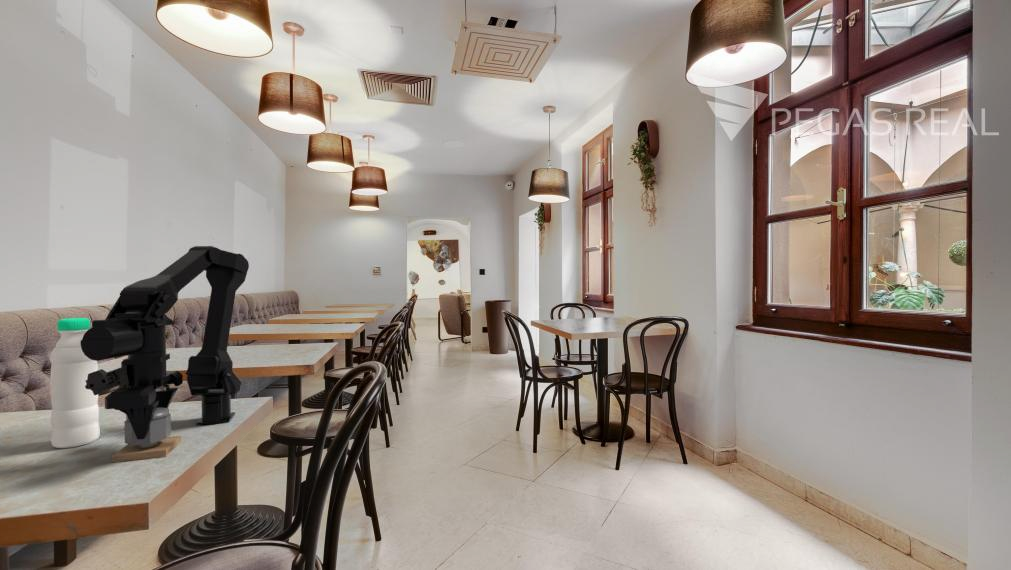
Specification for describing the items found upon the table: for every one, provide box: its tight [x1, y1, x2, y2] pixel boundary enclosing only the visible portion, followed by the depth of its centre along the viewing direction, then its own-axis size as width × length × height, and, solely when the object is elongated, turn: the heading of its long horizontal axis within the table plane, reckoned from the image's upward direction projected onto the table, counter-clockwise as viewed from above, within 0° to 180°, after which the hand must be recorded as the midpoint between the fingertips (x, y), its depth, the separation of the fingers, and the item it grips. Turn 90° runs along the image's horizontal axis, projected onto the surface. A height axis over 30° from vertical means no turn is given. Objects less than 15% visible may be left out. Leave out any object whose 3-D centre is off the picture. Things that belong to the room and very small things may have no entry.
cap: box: [123, 407, 172, 445], centre depth 86 cm, size 6×6×5 cm
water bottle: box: [49, 317, 101, 449], centre depth 91 cm, size 7×7×25 cm
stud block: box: [112, 435, 182, 463], centre depth 86 cm, size 8×8×5 cm
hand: (148, 433), depth 86 cm, fingers closed on cap, 6 cm apart
